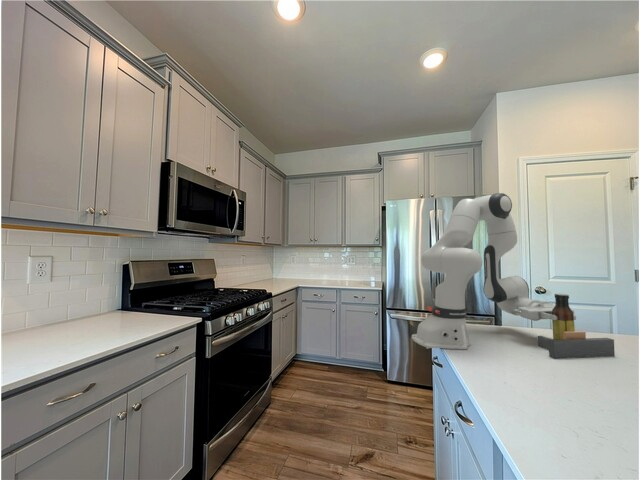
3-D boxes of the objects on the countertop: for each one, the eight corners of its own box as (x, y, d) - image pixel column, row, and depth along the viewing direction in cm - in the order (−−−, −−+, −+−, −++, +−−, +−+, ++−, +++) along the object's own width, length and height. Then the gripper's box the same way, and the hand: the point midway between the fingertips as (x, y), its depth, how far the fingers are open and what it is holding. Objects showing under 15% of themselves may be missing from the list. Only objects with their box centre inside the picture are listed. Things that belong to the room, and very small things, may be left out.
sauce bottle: (572, 345, 100) (572, 294, 101) (577, 351, 95) (577, 296, 95) (550, 342, 103) (550, 292, 104) (554, 347, 98) (553, 294, 99)
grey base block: (554, 358, 91) (554, 341, 91) (524, 346, 103) (523, 330, 103) (614, 356, 93) (613, 339, 93) (578, 344, 105) (577, 329, 105)
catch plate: (566, 353, 94) (566, 332, 95) (563, 351, 95) (562, 331, 96) (586, 352, 95) (585, 332, 95) (582, 351, 96) (581, 331, 97)
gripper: (510, 302, 111) (540, 309, 98) (552, 302, 113) (588, 309, 100) (510, 317, 111) (541, 326, 97) (553, 316, 113) (589, 325, 99)
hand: (565, 317), depth 99 cm, fingers closed on sauce bottle, 6 cm apart
